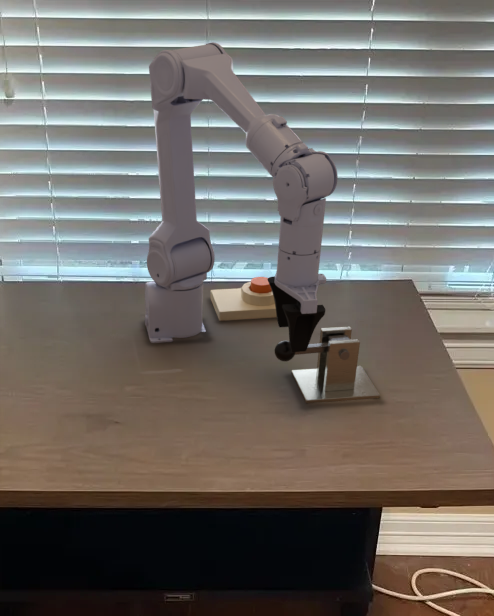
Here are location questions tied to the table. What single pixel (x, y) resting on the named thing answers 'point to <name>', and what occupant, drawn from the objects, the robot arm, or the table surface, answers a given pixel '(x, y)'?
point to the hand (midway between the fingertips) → (291, 338)
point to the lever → (286, 354)
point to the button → (260, 285)
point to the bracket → (336, 372)
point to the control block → (242, 303)
